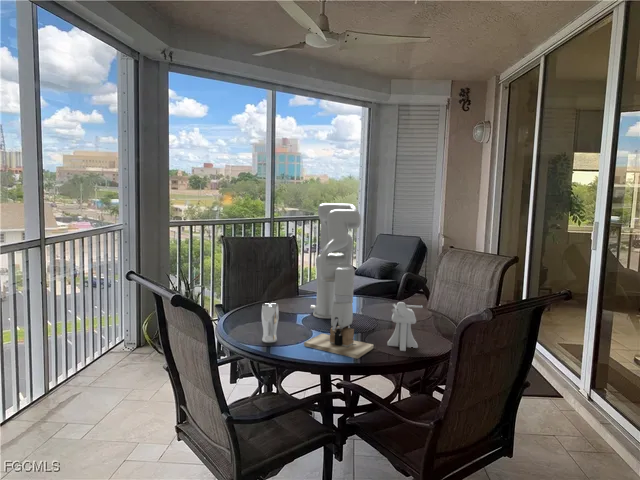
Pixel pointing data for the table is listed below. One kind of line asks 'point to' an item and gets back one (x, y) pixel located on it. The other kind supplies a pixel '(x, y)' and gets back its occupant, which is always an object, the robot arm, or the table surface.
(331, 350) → the board
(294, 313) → the table surface
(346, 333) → the block
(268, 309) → the beer glass
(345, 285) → the robot arm
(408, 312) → the toy gun turret
